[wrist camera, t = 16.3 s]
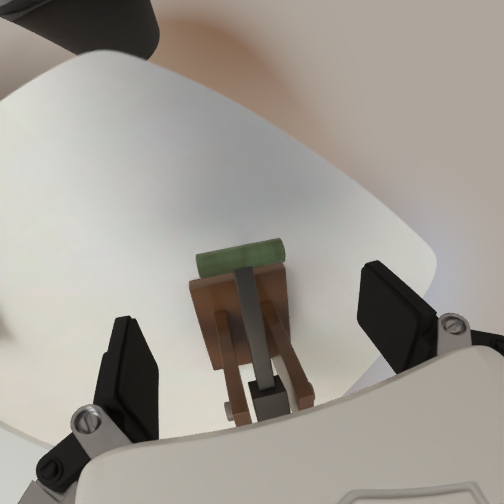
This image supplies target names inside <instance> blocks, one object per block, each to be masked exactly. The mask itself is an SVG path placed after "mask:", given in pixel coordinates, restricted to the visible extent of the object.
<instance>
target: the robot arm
mask: <svg viewBox="0 0 504 504" xmlns="http://www.w3.org/2000/svg"><path fill="white" fill-rule="evenodd" d="M436 313H437V312H436V311H435V310H434V309H433V308H432V307H431V306H430V305H429V304H427V303H426V302H425V301H424V300H423V299H422V298H421V297H420V296H419V295H418V294H417V293H415V292H414V291H413V290H412V289H411V288H410V287H409V286H408V285H407V284H405V283H404V282H403V281H402V280H401V279H400V278H399V277H397V276H396V275H395V274H394V273H393V272H392V271H391V270H389V269H388V268H387V267H386V266H385V265H384V264H382V263H381V262H380V261H378V260H376V261H372V262H368V263H366V264H365V265H364V267H363V268H362V270H361V281H360V292H359V302H358V311H357V321H358V323H359V325H360V326H361V328H362V329H363V330H364V332H365V333H366V334H367V335H368V337H369V338H370V339H371V341H372V342H373V343H374V345H375V346H376V347H377V349H378V350H379V351H380V353H381V354H382V355H383V357H384V358H385V359H386V361H387V362H388V363H389V365H390V366H391V367H392V369H393V370H394V372H395V373H396V374H397V375H395V376H393V377H391V378H388V379H386V380H384V381H382V382H379V383H377V384H374V385H372V386H370V387H367V388H364V389H362V390H359V391H357V392H354V393H351V394H349V395H346V396H343V397H341V398H338V399H335V400H332V401H329V402H326V403H323V404H320V405H317V406H314V407H311V408H308V409H305V410H301V411H298V412H294V413H291V414H287V415H284V416H280V417H276V418H273V419H269V420H265V421H261V422H257V423H252V424H248V425H244V426H239V427H234V428H229V429H224V430H219V431H213V432H207V433H201V434H195V435H189V436H183V437H175V438H168V439H160V440H159V419H158V387H159V370H158V366H157V363H156V361H155V359H154V357H153V355H152V353H151V351H150V349H149V347H148V345H147V343H146V340H145V338H144V336H143V334H142V332H141V329H140V327H139V325H138V322H137V320H136V319H135V318H133V319H132V318H131V317H130V316H123V317H118V318H116V319H115V322H114V326H113V330H112V334H111V338H110V342H109V346H108V351H107V352H105V353H104V354H103V357H102V361H101V366H100V370H99V375H98V380H97V385H96V390H95V395H94V401H93V404H89V405H85V406H82V407H81V408H79V409H78V410H77V411H76V412H75V413H74V414H73V416H72V418H71V422H70V423H71V429H72V433H71V434H69V435H68V436H67V437H66V438H65V439H63V440H62V441H61V442H60V443H59V444H57V445H56V446H55V447H54V448H53V449H51V450H50V451H49V452H48V453H47V454H45V455H44V456H43V457H42V458H41V459H40V460H39V462H38V464H37V467H36V475H37V478H38V479H37V481H36V482H35V481H33V480H32V482H31V483H30V485H29V487H28V488H27V490H26V491H25V493H24V495H23V496H22V498H21V499H20V501H19V502H18V504H504V336H502V335H498V334H492V333H487V332H481V331H476V330H470V326H469V323H468V321H467V320H466V319H465V318H464V317H462V316H460V315H458V314H455V313H446V314H444V315H442V316H441V317H440V318H438V317H437V316H436Z"/></svg>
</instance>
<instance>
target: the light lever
mask: <svg viewBox="0 0 504 504" xmlns="http://www.w3.org/2000/svg"><path fill="white" fill-rule="evenodd" d="M284 261H285V249H284V245H283V242H282V240H281V239H280V238H276V239H271V240H266V241H261V242H256V243H251V244H246V245H241V246H236V247H231V248H226V249H221V250H216V251H211V252H206V253H201V254H197V255H196V263H197V268H198V273H199V276H200V278H201V279H204V278H209V277H214V276H219V275H224V274H229V273H233V274H234V279H235V284H236V289H237V293H238V298H239V303H240V308H241V313H242V317H243V322H244V327H245V332H246V336H247V341H248V346H249V350H250V355H251V359H252V364H253V368H254V373H255V377H256V380H255V381H251V382H248V385H249V389H250V393H251V397H252V401H253V406H254V410H255V413H256V417H257V421H258V422H261V421H265V420H269V419H273V418H276V417H280V416H284V415H287V414H291V412H290V406H289V400H288V395H287V390H286V389H285V387H284V385H283V383H282V381H281V379H280V377H279V375H276V376H274V375H273V370H272V365H271V359H270V354H269V349H268V344H267V339H266V334H265V328H264V323H263V318H262V313H261V308H260V302H259V297H258V292H257V287H256V282H255V276H254V271H253V268H258V267H262V266H267V265H272V264H277V263H281V262H284Z"/></svg>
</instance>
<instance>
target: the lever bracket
mask: <svg viewBox="0 0 504 504" xmlns="http://www.w3.org/2000/svg"><path fill="white" fill-rule="evenodd" d="M253 271H254V276H255V282H256V287H257V292H258V297H259V302H260V308H261V313H262V318H263V323H264V328H265V334H266V339H267V344H268V349H269V354H270V358H272V360H273V363H274V365H275V368H276V371H277V374H278V375H279V377H280V379H281V381H282V383H283V385H284V387H285V389H286V390H287V395H288V400H289V406H290V409H291V411H292V413H294V412H298V411H301V410H305V409H308V408H311V407H314V400H315V393H314V389H313V387H312V385H311V383H310V382H308V380H307V377H306V375H305V373H304V371H303V369H302V367H301V364H300V362H299V360H298V358H297V356H296V354H295V351H294V349H293V347H292V345H291V340H290V325H289V311H288V297H287V284H286V272H285V267H284V266H283V264H282V263H277V264H272V265H267V266H262V267H258V268H253ZM189 290H190V293H191V297H192V300H193V304H194V308H195V311H196V314H197V318H198V321H199V325H200V328H201V331H202V335H203V338H204V341H205V344H206V347H207V351H208V354H209V357H210V360H211V363H212V366H213V369H214V370H219V369H224V375H225V380H226V386H227V391H228V396H229V402H225V403H224V407H225V411H226V415H227V419H228V421H235V424H236V427H239V426H244V425H248V424H252V420H251V416H250V412H249V408H248V404H247V400H246V396H245V392H244V388H243V384H242V380H241V375H240V371H239V367H238V366H239V365H244V364H248V363H252V359H251V355H250V350H249V346H248V341H247V336H246V332H245V327H244V322H243V317H242V313H241V308H240V303H239V298H238V293H237V289H236V284H235V279H234V274H233V273H229V274H224V275H219V276H214V277H209V278H204V279H198V280H193V281H189Z"/></svg>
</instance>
